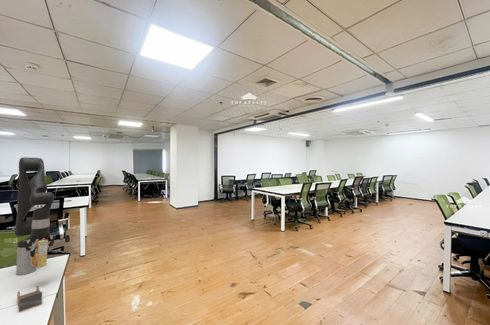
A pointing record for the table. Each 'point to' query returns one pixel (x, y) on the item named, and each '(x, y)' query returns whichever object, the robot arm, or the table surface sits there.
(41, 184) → the robot arm
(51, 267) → the table surface
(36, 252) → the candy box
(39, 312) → the table surface
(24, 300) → the cradle
